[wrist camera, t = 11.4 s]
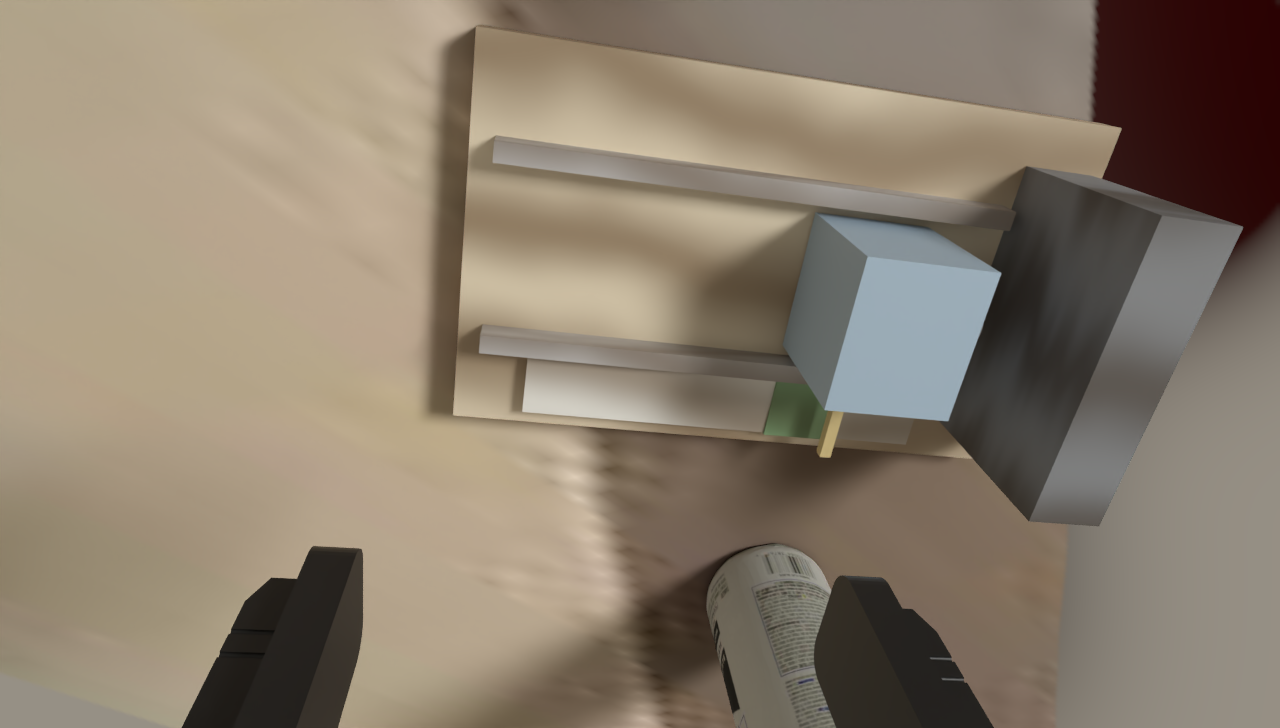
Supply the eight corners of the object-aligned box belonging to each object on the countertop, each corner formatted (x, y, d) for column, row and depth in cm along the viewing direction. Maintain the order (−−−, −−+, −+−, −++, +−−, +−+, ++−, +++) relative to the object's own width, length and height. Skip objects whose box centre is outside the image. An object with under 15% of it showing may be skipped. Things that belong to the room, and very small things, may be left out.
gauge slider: (815, 212, 32) (867, 256, 27) (961, 231, 33) (1040, 277, 28) (761, 430, 36) (797, 507, 31) (891, 441, 37) (948, 517, 32)
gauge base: (479, 24, 29) (448, 37, 21) (1098, 122, 33) (1286, 167, 25) (457, 399, 36) (425, 526, 27) (975, 444, 40) (1090, 567, 31)
